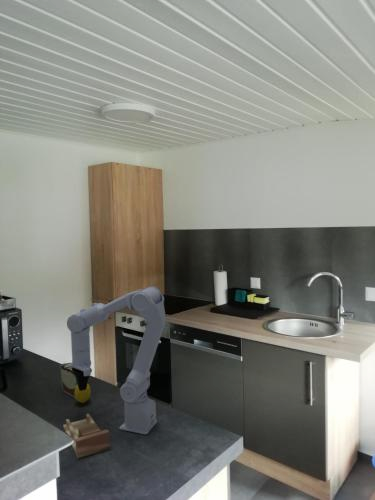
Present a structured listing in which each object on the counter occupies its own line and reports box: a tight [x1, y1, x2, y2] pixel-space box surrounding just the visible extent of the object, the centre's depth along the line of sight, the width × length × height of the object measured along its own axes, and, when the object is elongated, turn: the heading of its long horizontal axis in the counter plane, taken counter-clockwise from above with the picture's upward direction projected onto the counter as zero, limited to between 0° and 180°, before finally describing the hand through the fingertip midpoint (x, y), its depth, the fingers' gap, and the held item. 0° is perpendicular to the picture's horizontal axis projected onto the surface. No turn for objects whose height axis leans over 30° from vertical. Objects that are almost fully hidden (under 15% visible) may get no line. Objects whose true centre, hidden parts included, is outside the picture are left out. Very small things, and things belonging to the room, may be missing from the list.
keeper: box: [78, 422, 101, 438], centre depth 109 cm, size 5×5×4 cm
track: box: [62, 413, 111, 460], centre depth 113 cm, size 18×9×5 cm, turn 30°
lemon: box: [74, 383, 92, 404], centre depth 135 cm, size 6×6×8 cm
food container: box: [59, 362, 77, 399], centre depth 144 cm, size 12×6×10 cm, turn 47°
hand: (82, 389), depth 124 cm, fingers closed
